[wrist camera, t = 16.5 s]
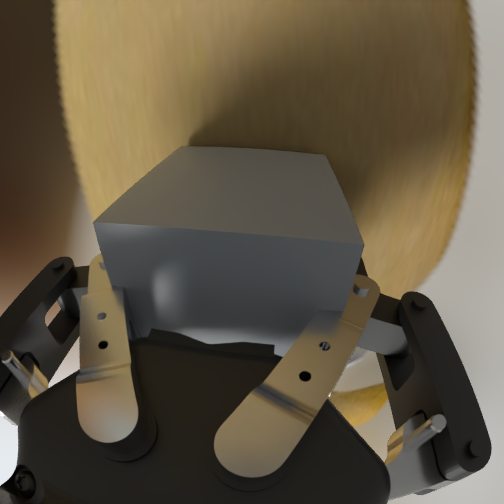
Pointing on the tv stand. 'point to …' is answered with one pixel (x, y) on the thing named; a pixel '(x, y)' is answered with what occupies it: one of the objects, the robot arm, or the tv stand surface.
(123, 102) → the tv stand surface
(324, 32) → the tv stand surface
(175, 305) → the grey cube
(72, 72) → the tv stand surface
